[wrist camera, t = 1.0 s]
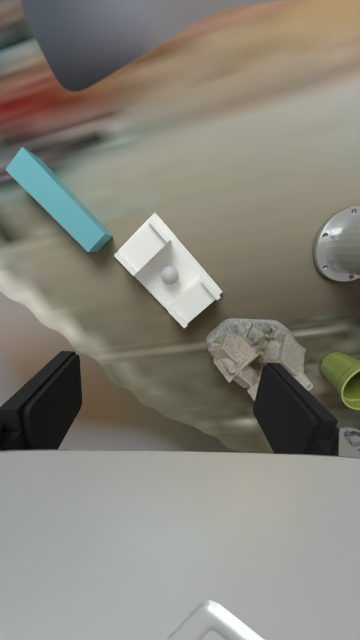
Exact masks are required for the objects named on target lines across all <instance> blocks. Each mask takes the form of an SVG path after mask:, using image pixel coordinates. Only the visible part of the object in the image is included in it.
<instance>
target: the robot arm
mask: <svg viewBox="0 0 360 640" xmlns="http://www.w3.org/2000/svg"><path fill="white" fill-rule="evenodd" d="M313 255H314V261H315V264H316V267H317V269H318V270H319V272H320V273H321V274H322V275H323V276H325V277H326V278H328V279H331V280H334V281H340V282H347V281H353V280H355V279H358V278H360V206H354V207H350V208H347V209H344V210H341V211H340V212H338V213H336V214H335V215H333V216H332V217H331V218H330V219H329V220H328V221H327V222H326V223H325V224H324V225H323V227H322V228H321V230H320V231H319V233H318V235H317V238H316V240H315V244H314V252H313ZM81 405H82V392H81V376H80V358H79V355H76V353H75V352H70V351H61V352H60V353H59V354H58V355H56V356H55V357H54V358H53V359H52V360H51V361H50V362H49V363H48V364H47V365H46V366H45V367H44V368H42V369H41V370H40V371H39V372H38V373H37V374H36V375H35V376H34V377H33V378H32V379H30V380H29V381H28V382H27V383H26V384H25V385H24V386H23V387H22V388H21V389H20V390H19V391H18V392H17V393H15V394H14V395H13V396H12V397H11V398H10V399H9V400H8V401H7V402H6V403H4V404H3V405H2V406H1V407H0V640H360V430H357V429H354V428H349V427H345V428H341V429H340V430H339V429H338V428H337V427H336V424H337V422H338V420H337V419H336V418H335V417H334V416H333V415H332V414H331V413H330V412H329V411H328V410H327V409H326V408H325V407H324V406H323V405H322V404H321V403H320V402H319V401H318V400H317V399H315V398H314V397H313V396H312V395H311V394H310V393H309V392H308V391H307V390H306V389H305V388H304V387H303V386H302V385H301V384H300V383H299V382H298V381H297V380H296V379H295V378H294V377H293V376H292V375H291V374H290V373H289V372H288V371H287V370H286V369H285V368H284V367H283V366H282V365H281V364H280V363H267V364H266V365H264V366H263V368H262V373H261V377H260V381H259V385H258V389H257V394H256V398H255V402H254V406H253V413H254V416H255V417H256V419H257V421H258V423H259V425H260V427H261V429H262V431H263V432H264V434H265V436H266V438H267V440H268V442H269V444H270V446H271V447H272V449H273V451H274V453H234V452H184V451H133V450H132V451H131V450H130V451H129V450H67V449H62V450H61V449H58V448H59V446H60V444H61V442H62V441H63V439H64V437H65V435H66V433H67V431H68V429H69V428H70V426H71V424H72V423H73V421H74V419H75V417H76V416H77V414H78V412H79V410H80V408H81Z"/></svg>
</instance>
